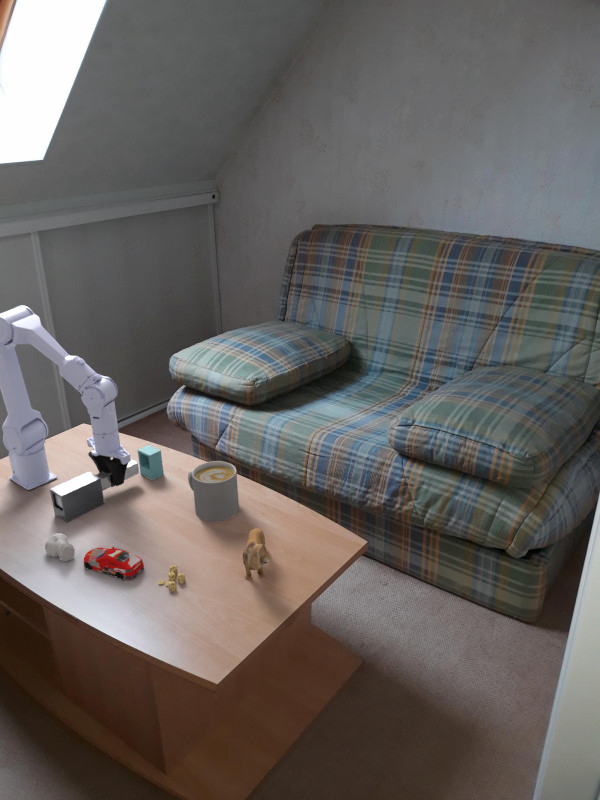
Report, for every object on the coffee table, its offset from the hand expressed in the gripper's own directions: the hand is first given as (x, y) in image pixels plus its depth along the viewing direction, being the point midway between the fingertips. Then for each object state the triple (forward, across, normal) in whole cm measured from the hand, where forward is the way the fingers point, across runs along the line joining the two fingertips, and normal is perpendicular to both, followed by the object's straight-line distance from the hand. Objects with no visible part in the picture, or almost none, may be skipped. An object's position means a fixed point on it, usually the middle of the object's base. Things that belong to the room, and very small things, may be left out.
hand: (112, 480), depth 158 cm
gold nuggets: (+4, +37, -12) cm, 39 cm away
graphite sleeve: (+3, 0, -10) cm, 10 cm away
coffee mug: (+4, +23, +11) cm, 26 cm away
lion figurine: (+4, +47, +1) cm, 47 cm away
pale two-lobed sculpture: (+4, +12, -22) cm, 25 cm away
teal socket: (+3, 0, +11) cm, 12 cm away
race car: (+4, +24, -17) cm, 30 cm away
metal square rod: (+1, 0, -4) cm, 4 cm away
